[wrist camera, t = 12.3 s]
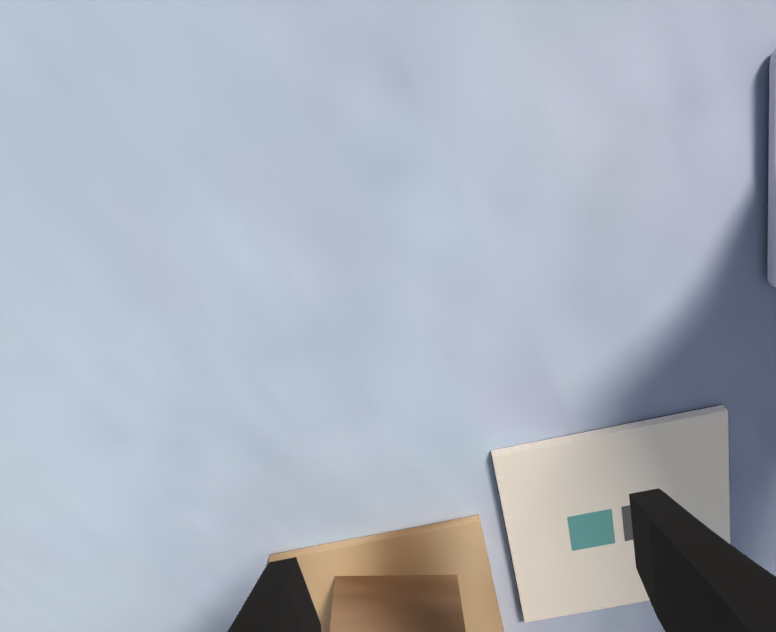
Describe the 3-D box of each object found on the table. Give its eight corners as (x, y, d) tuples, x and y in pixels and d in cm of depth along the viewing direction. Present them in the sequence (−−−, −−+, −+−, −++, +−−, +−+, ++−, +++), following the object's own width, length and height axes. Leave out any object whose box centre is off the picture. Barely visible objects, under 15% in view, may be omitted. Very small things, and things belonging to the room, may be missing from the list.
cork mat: (478, 514, 24) (479, 521, 24) (510, 664, 28) (512, 672, 27) (269, 554, 25) (268, 561, 25) (325, 696, 28) (324, 704, 28)
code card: (722, 404, 23) (728, 410, 22) (726, 579, 26) (731, 586, 26) (490, 450, 23) (492, 457, 23) (522, 614, 27) (524, 623, 26)
